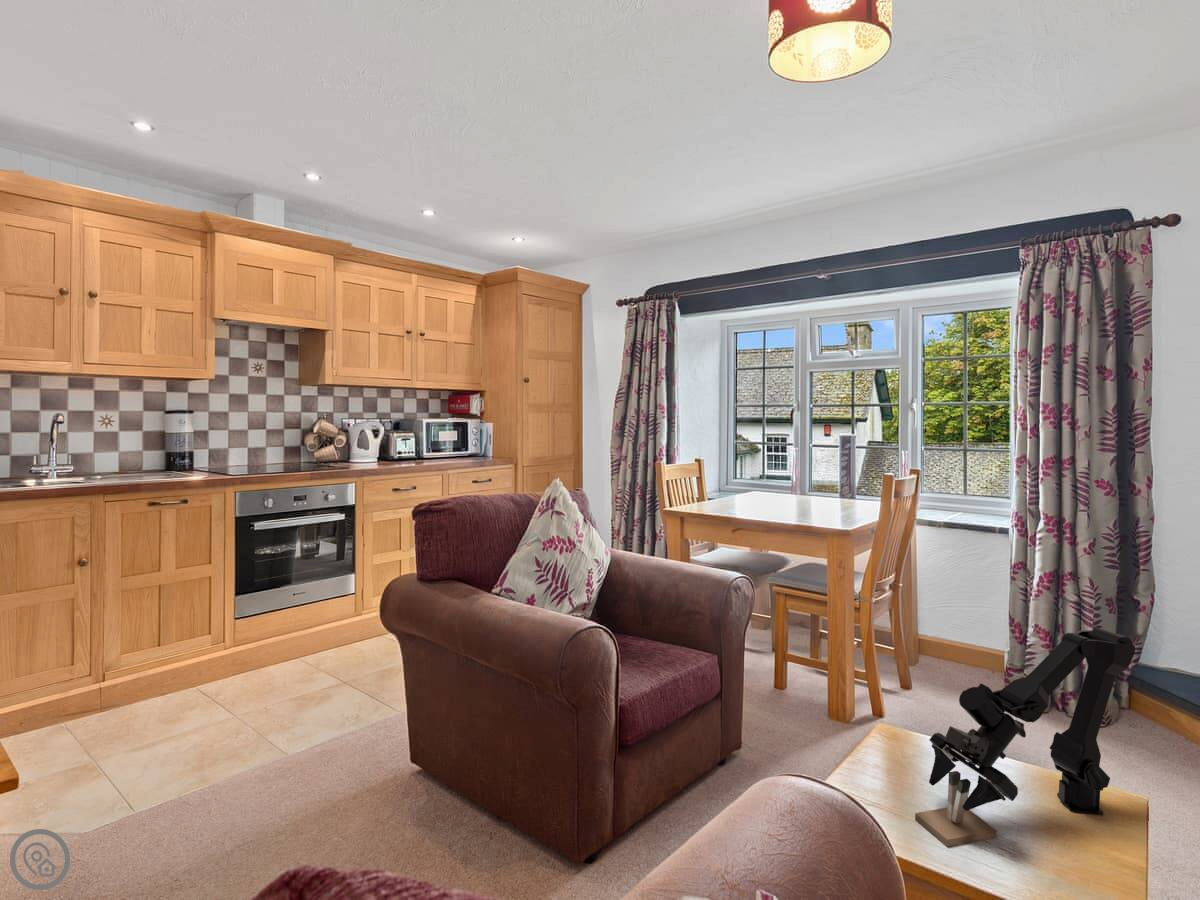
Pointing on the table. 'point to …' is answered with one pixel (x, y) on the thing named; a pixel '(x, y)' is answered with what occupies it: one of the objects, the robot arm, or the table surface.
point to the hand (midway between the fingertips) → (946, 796)
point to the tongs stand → (950, 831)
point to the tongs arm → (960, 800)
